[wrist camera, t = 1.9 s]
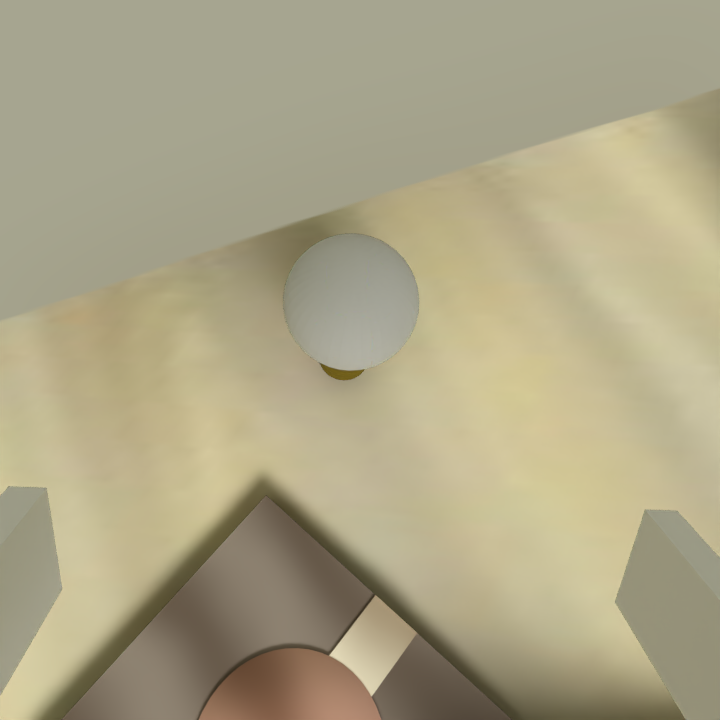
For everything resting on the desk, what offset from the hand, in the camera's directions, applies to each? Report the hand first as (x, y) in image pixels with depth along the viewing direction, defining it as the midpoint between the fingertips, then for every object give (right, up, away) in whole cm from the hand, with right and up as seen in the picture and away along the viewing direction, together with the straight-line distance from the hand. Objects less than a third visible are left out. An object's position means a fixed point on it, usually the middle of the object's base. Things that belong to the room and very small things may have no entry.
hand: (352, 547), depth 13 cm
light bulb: (-1, +4, +19) cm, 19 cm away
